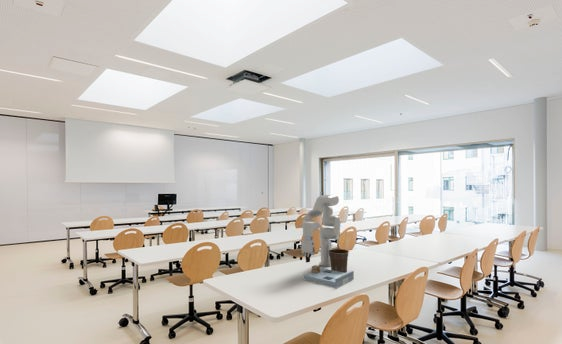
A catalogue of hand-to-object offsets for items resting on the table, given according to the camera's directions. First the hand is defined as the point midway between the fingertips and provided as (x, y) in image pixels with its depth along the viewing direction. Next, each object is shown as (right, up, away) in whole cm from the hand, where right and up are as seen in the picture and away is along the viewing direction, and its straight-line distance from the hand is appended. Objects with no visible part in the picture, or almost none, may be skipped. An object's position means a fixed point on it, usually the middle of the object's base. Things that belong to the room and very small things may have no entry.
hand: (307, 262), depth 237 cm
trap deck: (+14, -9, -11) cm, 20 cm away
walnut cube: (+6, -7, -4) cm, 10 cm away
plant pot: (+25, -10, +8) cm, 28 cm away
